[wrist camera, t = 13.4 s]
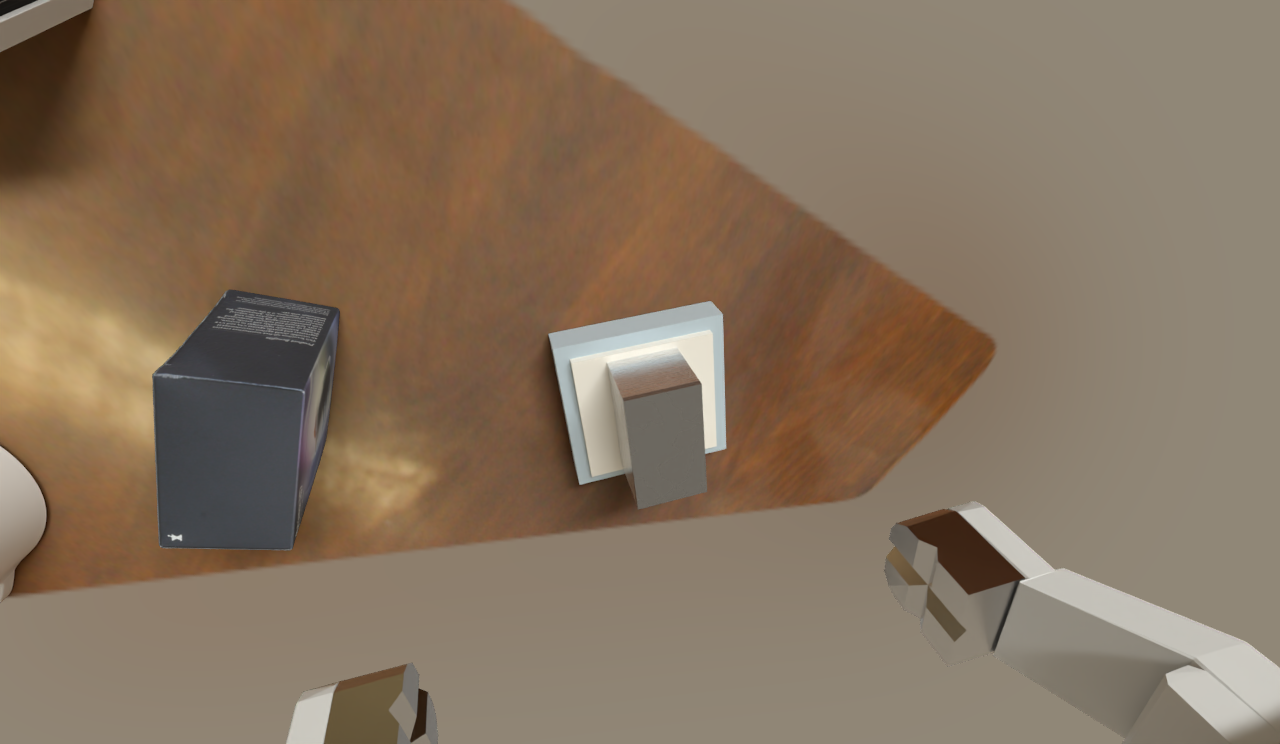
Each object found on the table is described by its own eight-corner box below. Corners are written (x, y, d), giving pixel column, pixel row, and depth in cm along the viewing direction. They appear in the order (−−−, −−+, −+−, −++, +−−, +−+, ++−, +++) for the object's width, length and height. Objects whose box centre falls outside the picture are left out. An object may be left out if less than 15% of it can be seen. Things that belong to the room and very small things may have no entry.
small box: (332, 444, 41) (297, 557, 32) (222, 434, 39) (151, 552, 30) (346, 306, 37) (310, 393, 28) (223, 286, 34) (141, 373, 26)
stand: (574, 465, 47) (580, 489, 45) (548, 333, 41) (553, 353, 38) (715, 431, 49) (728, 453, 47) (710, 301, 43) (726, 317, 40)
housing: (606, 362, 40) (623, 401, 36) (677, 347, 41) (701, 383, 36) (621, 464, 44) (638, 509, 40) (684, 449, 45) (707, 491, 41)
